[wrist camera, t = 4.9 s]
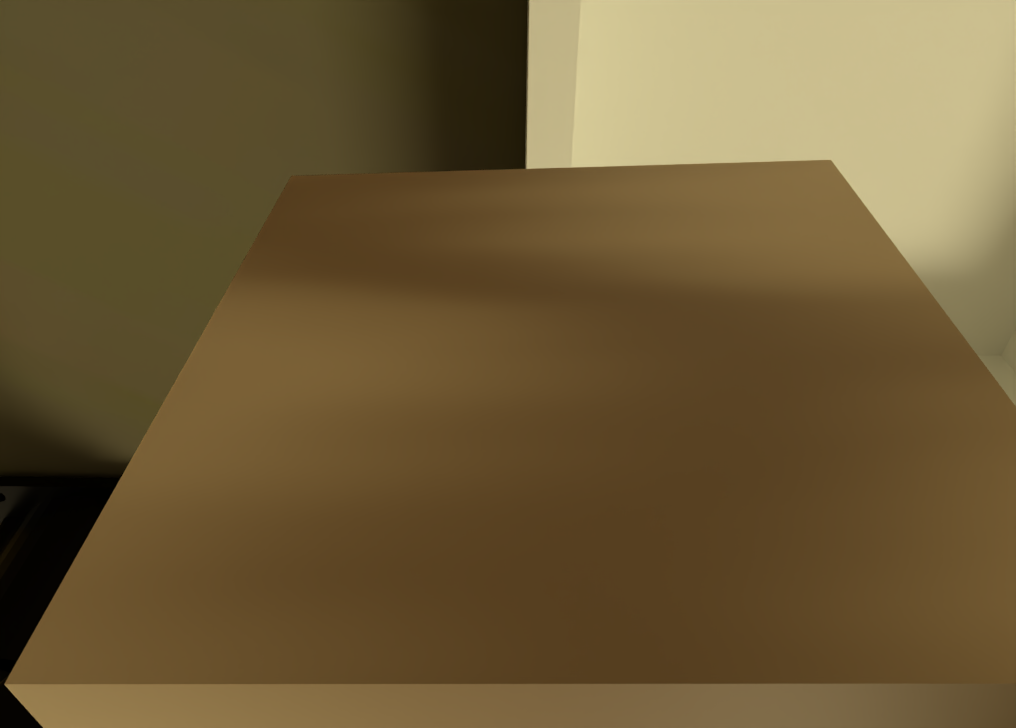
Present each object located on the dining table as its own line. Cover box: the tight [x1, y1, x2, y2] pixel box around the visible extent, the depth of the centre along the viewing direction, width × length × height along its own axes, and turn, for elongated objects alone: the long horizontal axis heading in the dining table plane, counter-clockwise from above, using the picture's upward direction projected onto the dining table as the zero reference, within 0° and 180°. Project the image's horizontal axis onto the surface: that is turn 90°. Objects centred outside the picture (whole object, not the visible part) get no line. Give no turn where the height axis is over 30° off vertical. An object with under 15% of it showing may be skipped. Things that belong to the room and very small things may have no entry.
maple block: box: [4, 160, 1016, 728], centre depth 7 cm, size 5×5×5 cm
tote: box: [525, 0, 1016, 406], centre depth 14 cm, size 14×18×4 cm
